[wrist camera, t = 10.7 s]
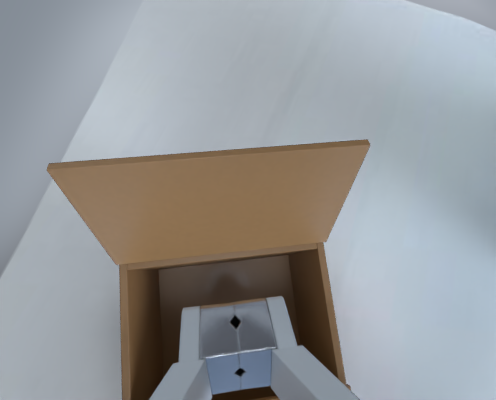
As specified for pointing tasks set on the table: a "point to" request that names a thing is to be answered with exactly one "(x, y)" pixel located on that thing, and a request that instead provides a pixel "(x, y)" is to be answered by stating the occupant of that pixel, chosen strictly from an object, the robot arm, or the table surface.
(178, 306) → the carton
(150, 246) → the flap
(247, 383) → the robot arm
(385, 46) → the table surface
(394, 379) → the table surface
